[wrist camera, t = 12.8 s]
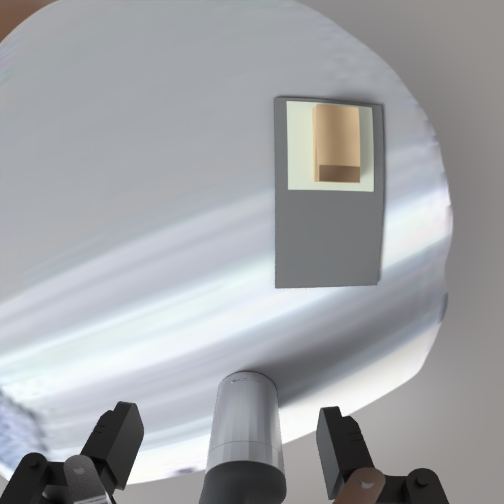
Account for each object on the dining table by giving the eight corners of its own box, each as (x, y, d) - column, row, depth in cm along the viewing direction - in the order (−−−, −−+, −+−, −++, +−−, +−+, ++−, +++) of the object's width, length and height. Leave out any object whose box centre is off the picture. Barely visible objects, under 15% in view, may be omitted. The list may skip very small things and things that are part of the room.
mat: (375, 283, 40) (377, 285, 39) (275, 287, 40) (275, 288, 39) (379, 106, 34) (382, 105, 33) (273, 98, 34) (274, 97, 33)
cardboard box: (350, 112, 34) (358, 107, 31) (352, 182, 36) (360, 183, 33) (311, 109, 34) (316, 104, 31) (313, 181, 36) (318, 182, 33)
